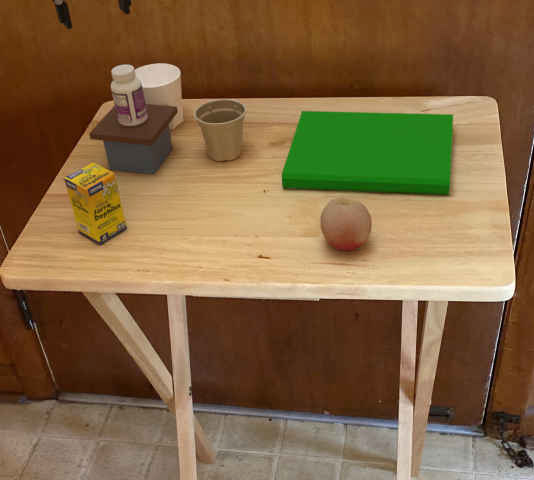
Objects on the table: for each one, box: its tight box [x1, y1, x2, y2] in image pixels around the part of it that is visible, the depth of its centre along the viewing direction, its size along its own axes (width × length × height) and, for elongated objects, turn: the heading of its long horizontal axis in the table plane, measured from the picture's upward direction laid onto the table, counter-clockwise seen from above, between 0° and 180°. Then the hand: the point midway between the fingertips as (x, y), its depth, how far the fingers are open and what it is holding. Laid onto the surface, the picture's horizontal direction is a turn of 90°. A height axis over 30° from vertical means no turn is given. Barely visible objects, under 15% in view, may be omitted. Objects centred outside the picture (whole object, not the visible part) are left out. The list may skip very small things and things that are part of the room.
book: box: [281, 110, 454, 196], centre depth 145 cm, size 22×28×3 cm
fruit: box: [319, 197, 373, 252], centre depth 125 cm, size 8×8×8 cm
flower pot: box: [193, 98, 247, 162], centre depth 148 cm, size 9×9×9 cm
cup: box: [134, 62, 184, 131], centre depth 158 cm, size 10×10×10 cm
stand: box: [88, 104, 178, 175], centre depth 149 cm, size 12×12×8 cm
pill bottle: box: [110, 64, 148, 126], centre depth 143 cm, size 5×5×10 cm
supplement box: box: [63, 161, 128, 246], centre depth 132 cm, size 6×6×11 cm
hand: (96, 18), depth 130 cm, fingers open, 9 cm apart
